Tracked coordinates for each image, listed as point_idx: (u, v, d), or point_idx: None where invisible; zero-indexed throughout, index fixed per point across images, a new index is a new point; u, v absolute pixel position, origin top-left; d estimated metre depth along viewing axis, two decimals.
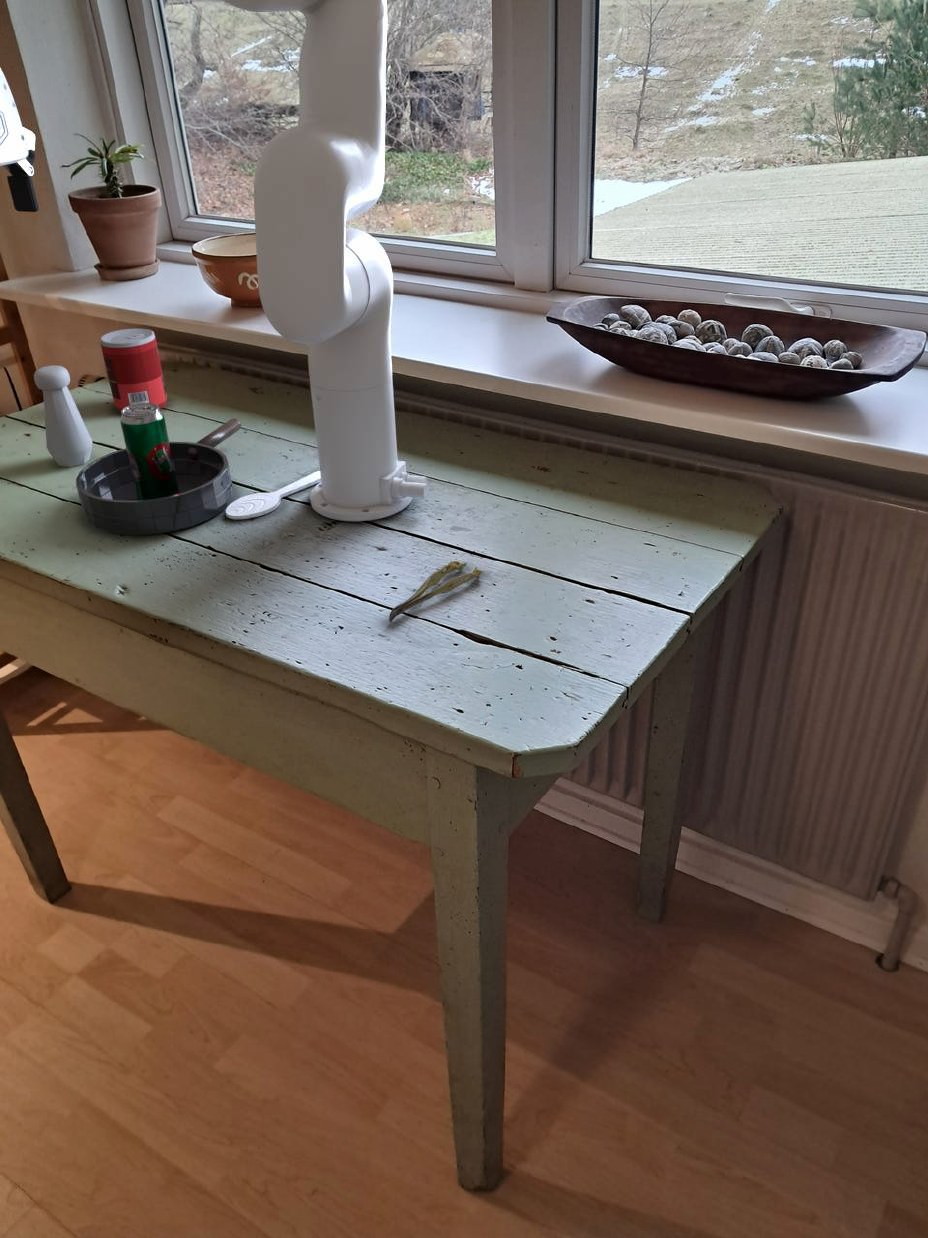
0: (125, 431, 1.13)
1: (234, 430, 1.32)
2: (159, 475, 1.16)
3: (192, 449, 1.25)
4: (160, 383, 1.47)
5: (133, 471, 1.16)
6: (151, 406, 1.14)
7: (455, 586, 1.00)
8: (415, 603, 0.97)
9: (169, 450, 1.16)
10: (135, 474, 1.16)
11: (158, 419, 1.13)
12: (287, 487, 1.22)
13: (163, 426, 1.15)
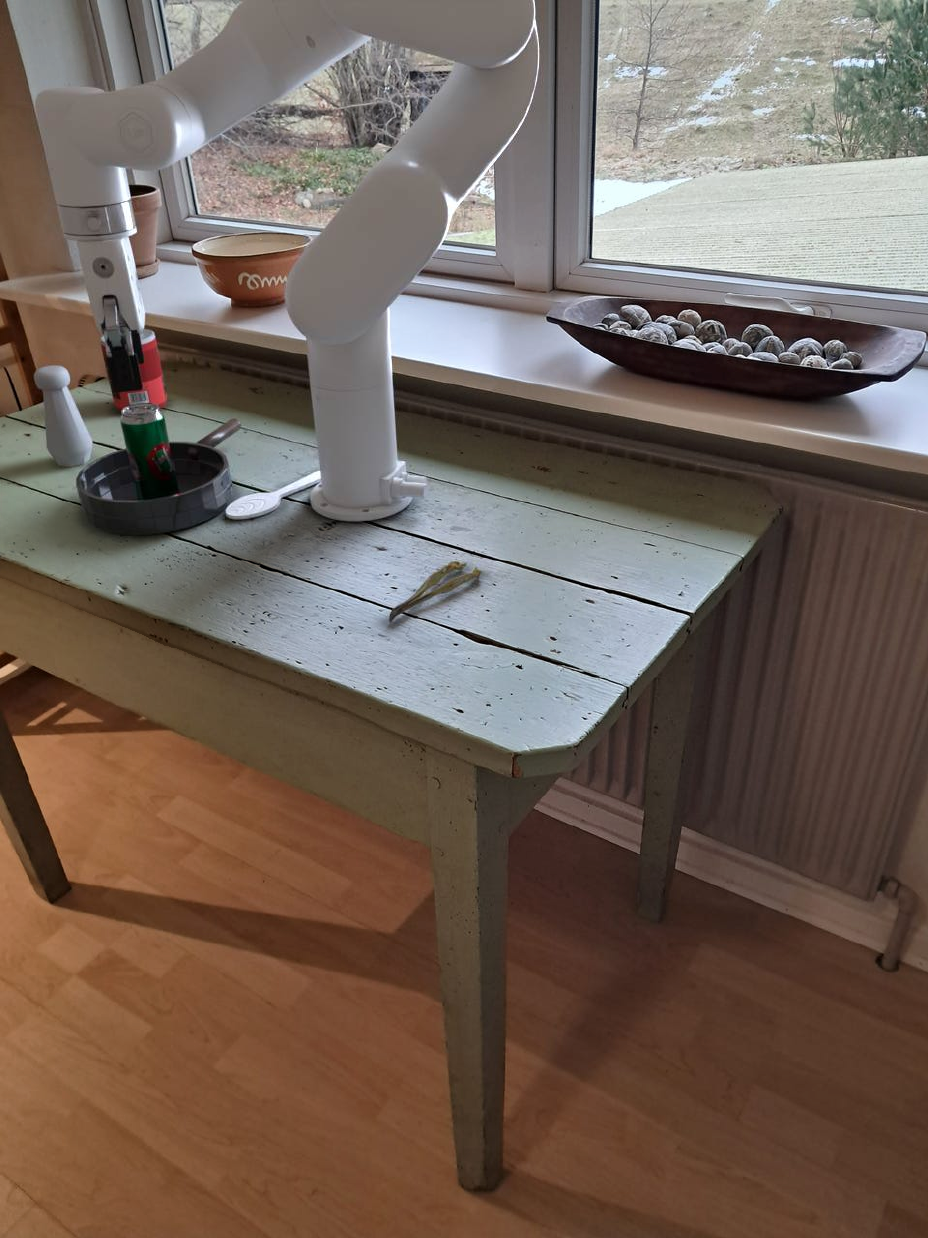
0: (125, 431, 1.13)
1: (234, 430, 1.32)
2: (159, 475, 1.16)
3: (192, 449, 1.25)
4: (160, 383, 1.47)
5: (133, 471, 1.16)
6: (151, 406, 1.14)
7: (455, 586, 1.00)
8: (415, 603, 0.97)
9: (169, 450, 1.16)
10: (135, 474, 1.16)
11: (158, 419, 1.13)
12: (287, 487, 1.22)
13: (163, 426, 1.15)
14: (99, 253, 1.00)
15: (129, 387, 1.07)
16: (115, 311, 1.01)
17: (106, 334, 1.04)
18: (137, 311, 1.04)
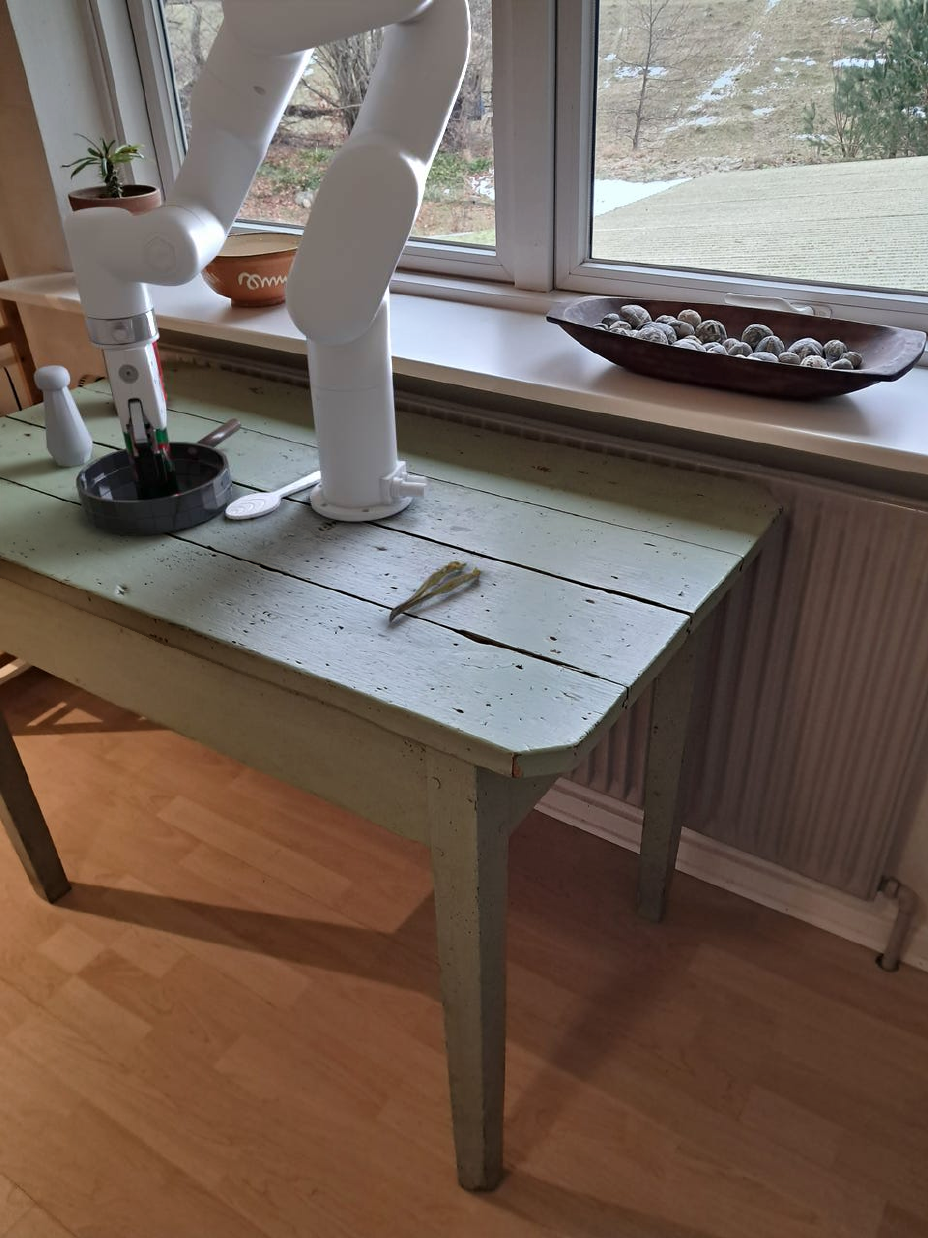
0: None
1: (234, 430, 1.32)
2: None
3: (192, 449, 1.25)
4: None
5: (133, 471, 1.16)
6: None
7: (455, 586, 1.00)
8: (415, 603, 0.97)
9: (169, 450, 1.16)
10: (135, 474, 1.16)
11: None
12: (287, 487, 1.22)
13: None
14: (125, 361, 1.06)
15: (154, 482, 1.15)
16: (142, 422, 1.08)
17: (133, 437, 1.12)
18: (160, 412, 1.10)
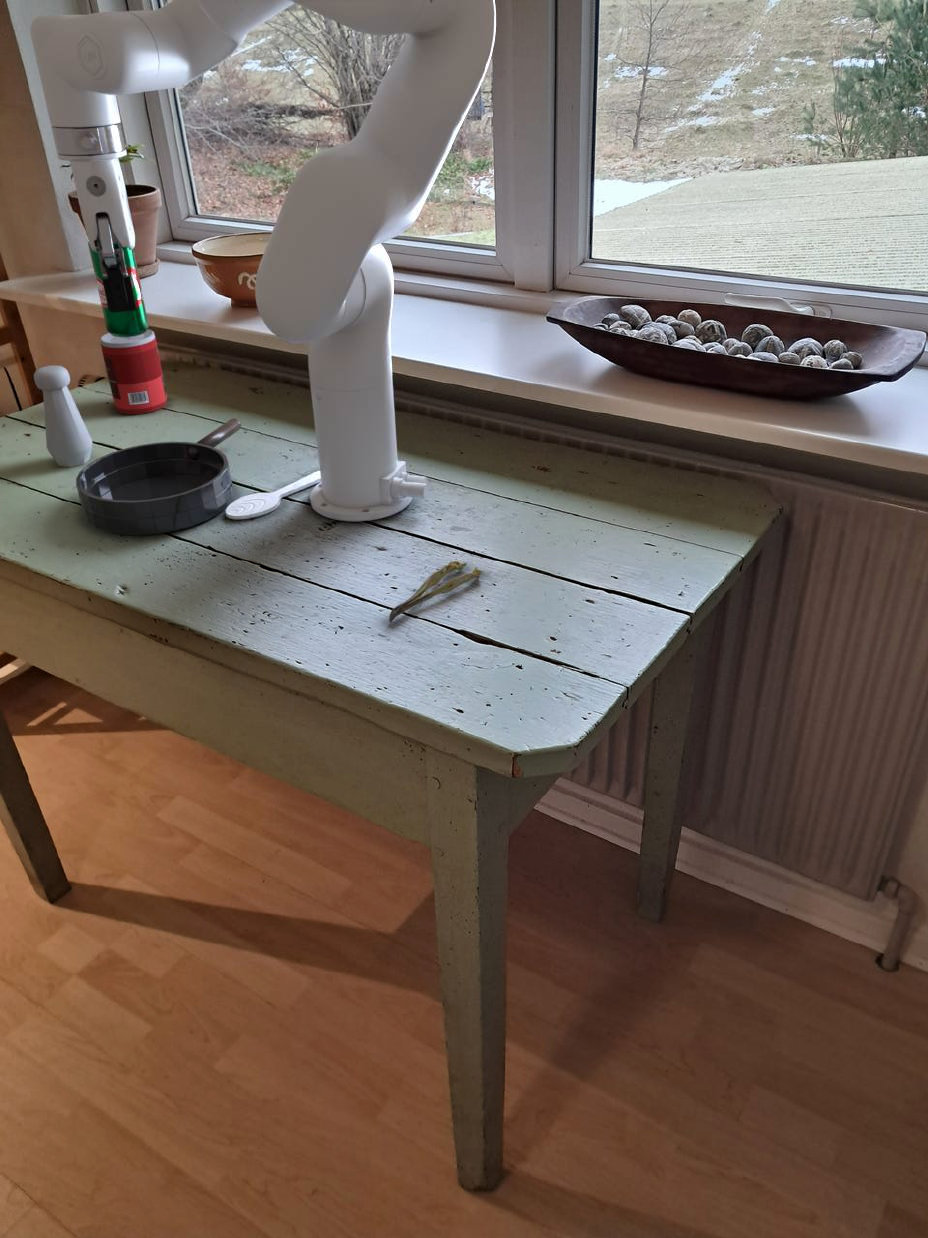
0: (93, 253, 1.14)
1: (234, 430, 1.32)
2: None
3: (192, 449, 1.25)
4: (160, 383, 1.47)
5: (102, 297, 1.17)
6: None
7: (455, 586, 1.00)
8: (415, 603, 0.97)
9: (137, 277, 1.18)
10: (104, 300, 1.17)
11: None
12: (287, 487, 1.22)
13: (131, 250, 1.16)
14: (92, 172, 1.07)
15: (123, 307, 1.17)
16: (110, 237, 1.10)
17: (101, 257, 1.13)
18: (128, 229, 1.11)
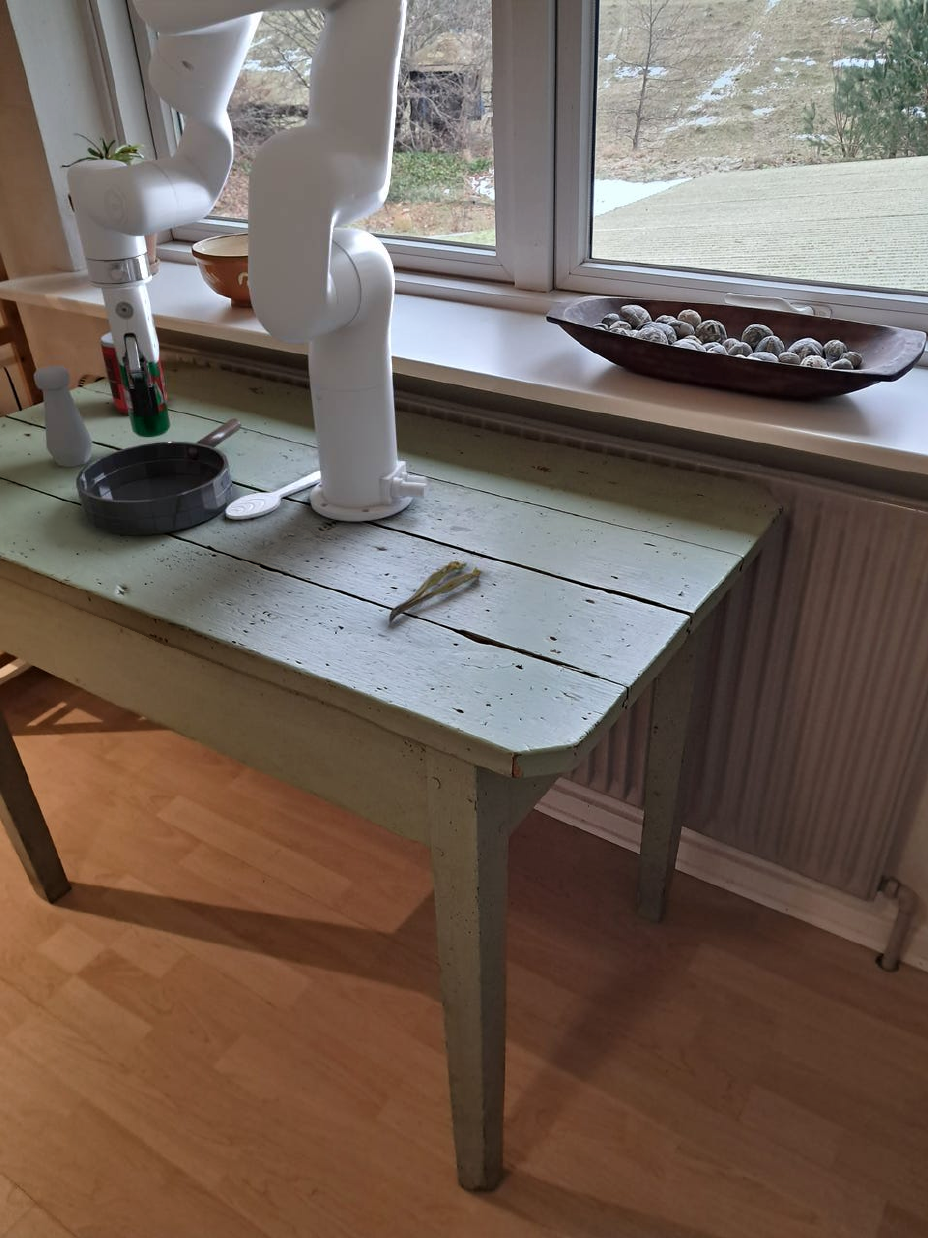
0: (121, 365, 1.26)
1: (234, 430, 1.32)
2: None
3: (192, 449, 1.25)
4: None
5: (128, 403, 1.29)
6: None
7: (455, 586, 1.00)
8: (415, 603, 0.97)
9: (161, 384, 1.29)
10: (130, 405, 1.29)
11: None
12: (287, 487, 1.22)
13: None
14: (121, 299, 1.19)
15: (148, 412, 1.28)
16: (137, 355, 1.21)
17: (128, 370, 1.24)
18: (153, 346, 1.22)
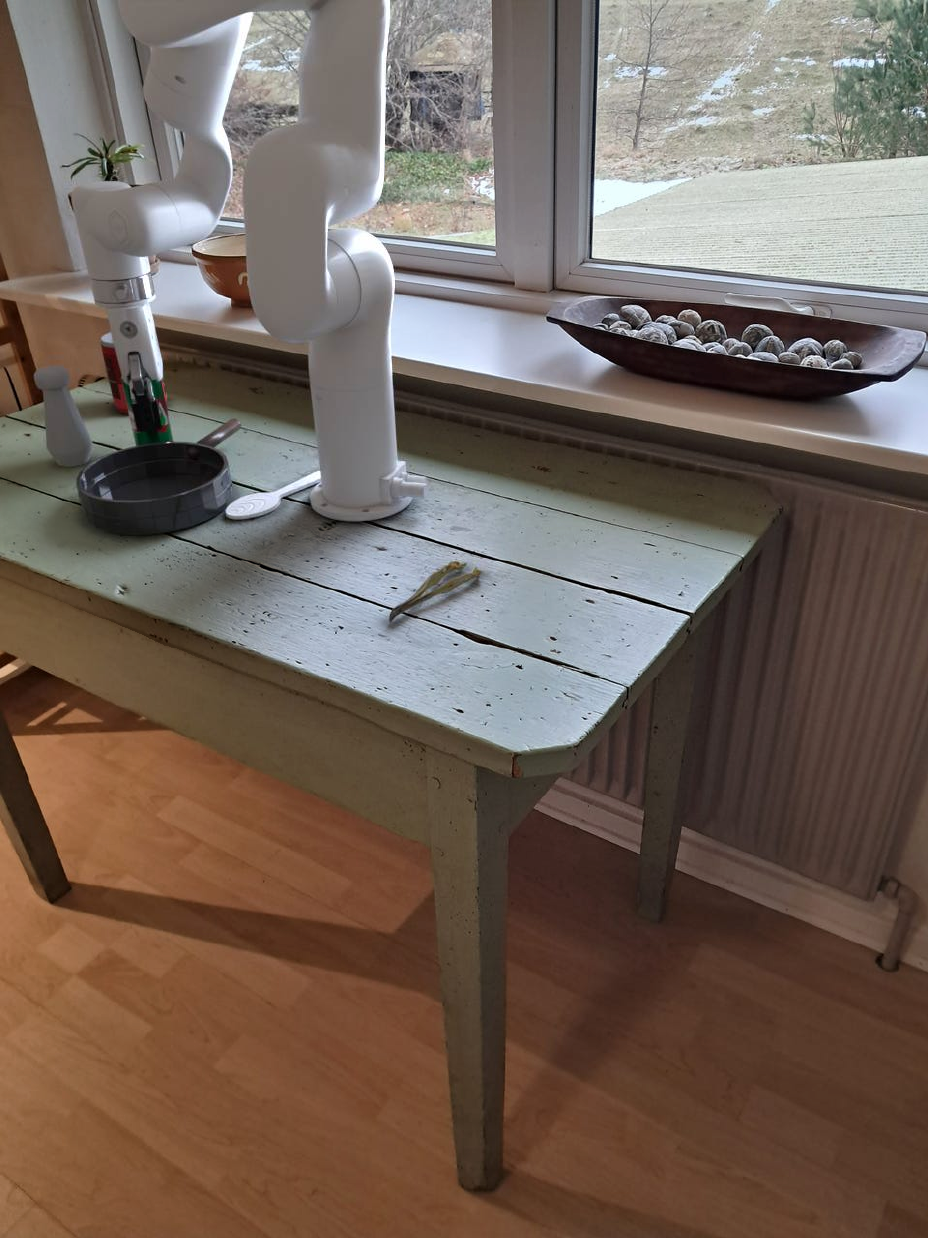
0: (126, 387, 1.27)
1: (234, 430, 1.32)
2: None
3: (192, 449, 1.25)
4: None
5: (133, 424, 1.30)
6: None
7: (455, 586, 1.00)
8: (415, 603, 0.97)
9: (165, 405, 1.30)
10: (134, 426, 1.30)
11: None
12: (287, 487, 1.22)
13: (160, 383, 1.29)
14: (125, 318, 1.20)
15: (150, 427, 1.27)
16: (139, 365, 1.21)
17: (131, 384, 1.24)
18: (157, 364, 1.24)
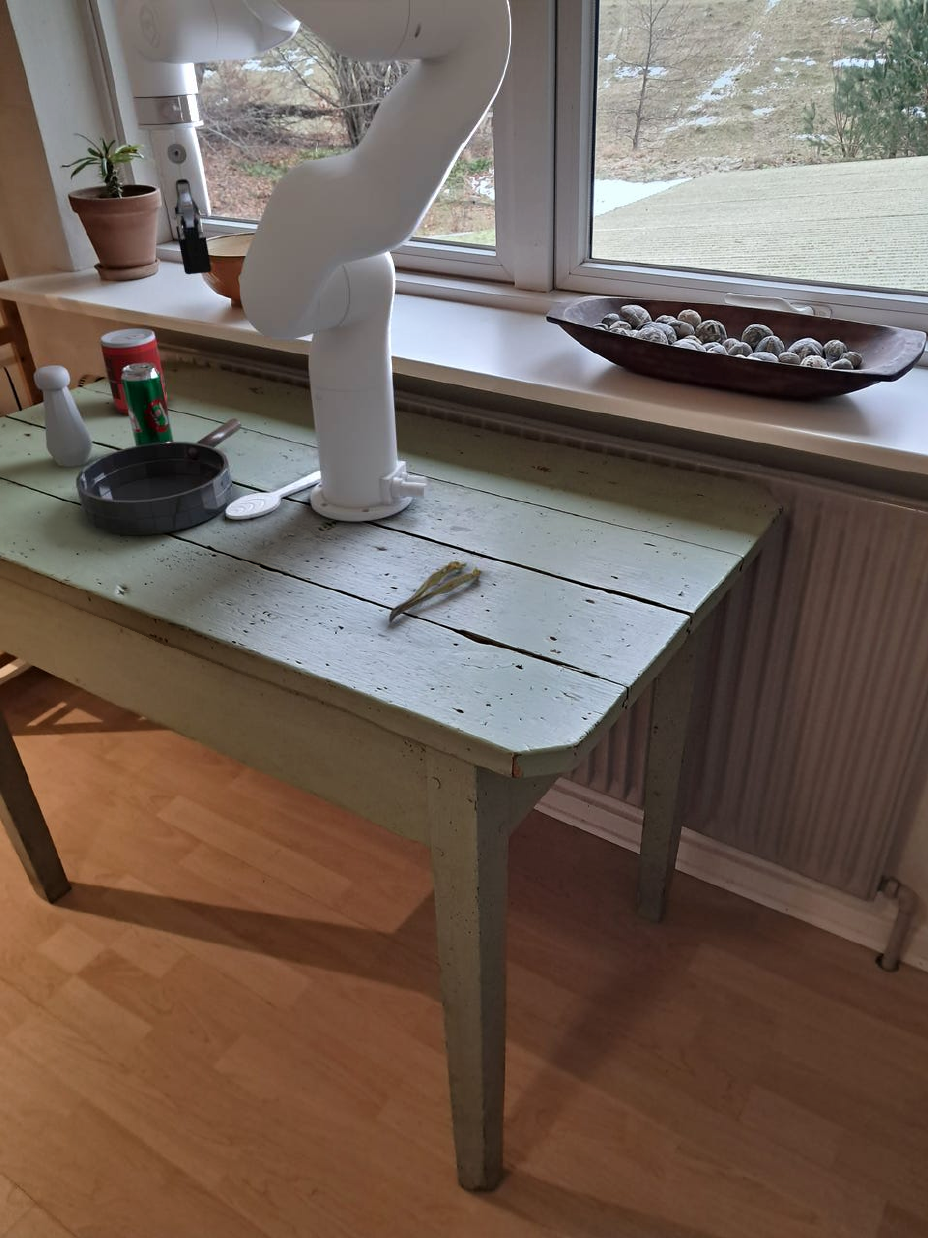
0: (126, 387, 1.27)
1: (234, 430, 1.32)
2: (156, 427, 1.30)
3: (192, 449, 1.25)
4: None
5: (133, 424, 1.30)
6: (149, 365, 1.28)
7: (455, 586, 1.00)
8: (415, 603, 0.97)
9: (165, 405, 1.30)
10: (134, 426, 1.30)
11: (155, 377, 1.27)
12: (287, 487, 1.22)
13: (160, 383, 1.29)
14: (173, 140, 1.11)
15: (199, 269, 1.18)
16: (188, 193, 1.12)
17: (179, 218, 1.14)
18: (206, 196, 1.14)
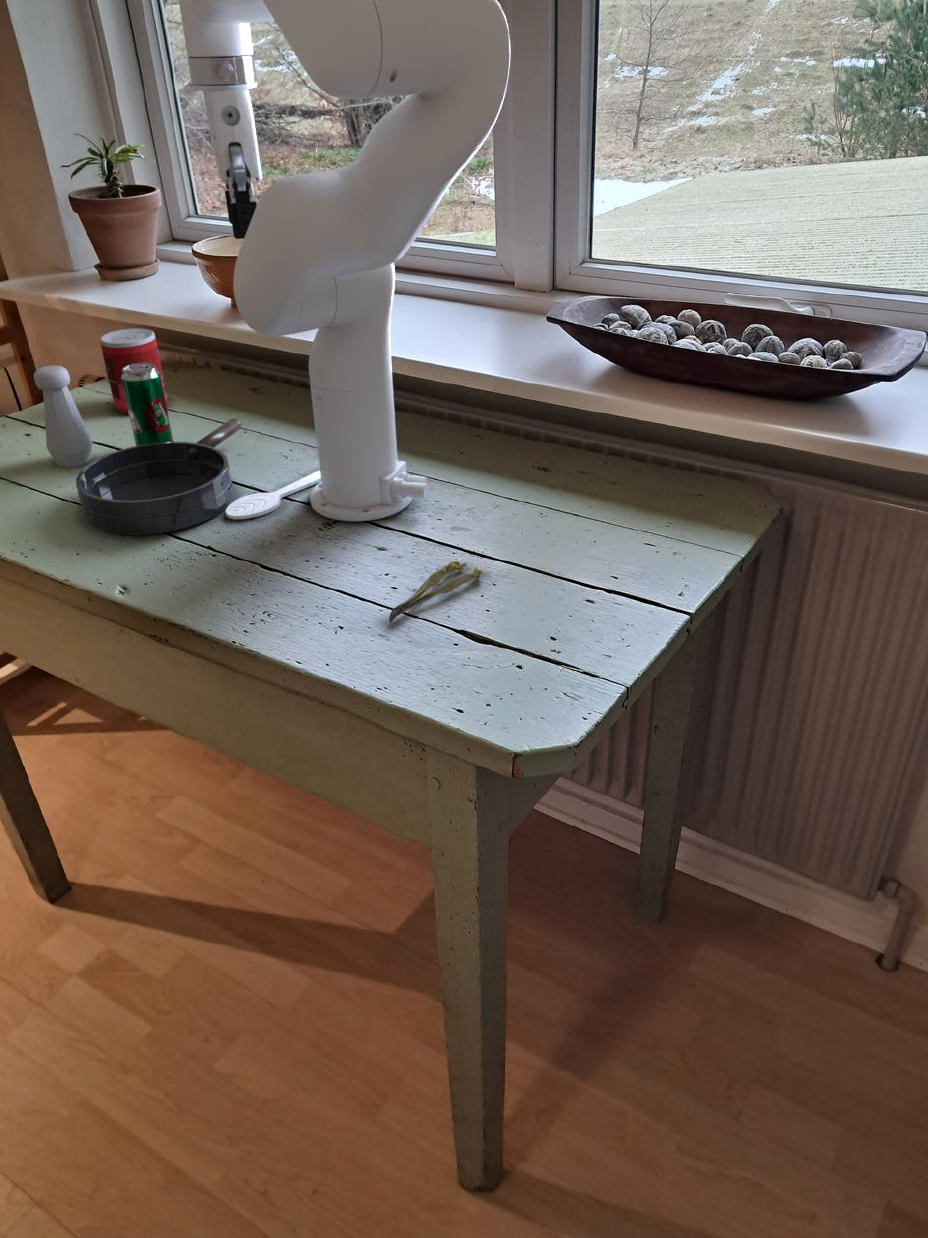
0: (126, 387, 1.27)
1: (234, 430, 1.32)
2: (156, 427, 1.30)
3: (192, 449, 1.25)
4: None
5: (133, 424, 1.30)
6: (149, 365, 1.28)
7: (455, 586, 1.00)
8: (415, 603, 0.97)
9: (165, 405, 1.30)
10: (134, 426, 1.30)
11: (155, 377, 1.27)
12: (287, 487, 1.22)
13: (160, 383, 1.29)
14: (228, 102, 1.10)
15: None
16: (241, 156, 1.11)
17: (230, 181, 1.14)
18: (258, 159, 1.13)
